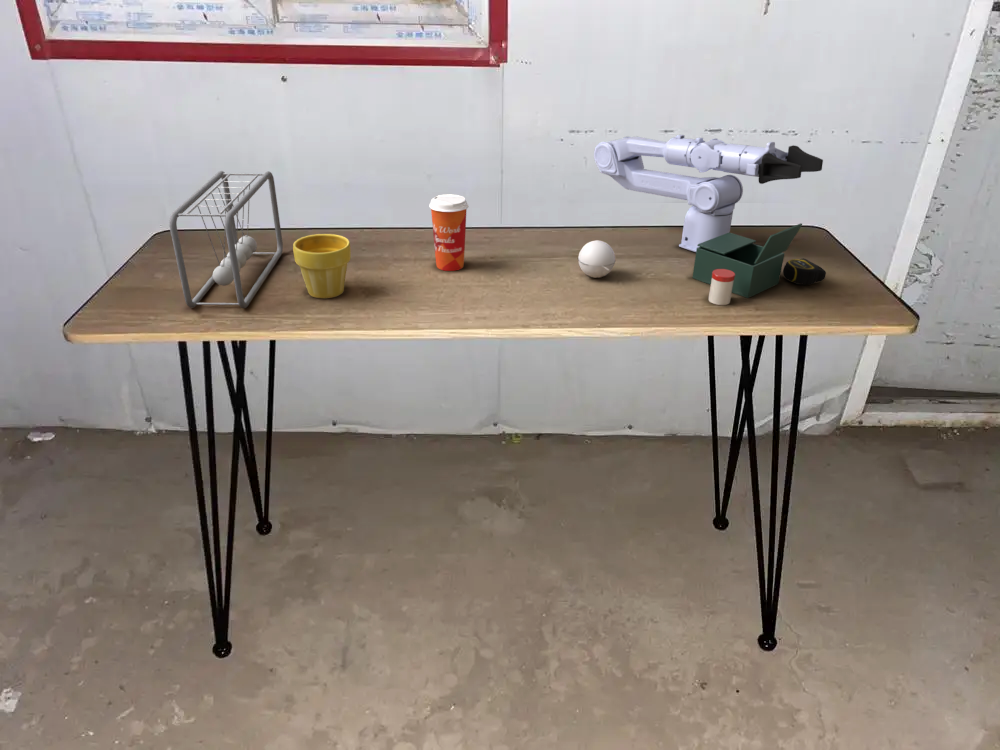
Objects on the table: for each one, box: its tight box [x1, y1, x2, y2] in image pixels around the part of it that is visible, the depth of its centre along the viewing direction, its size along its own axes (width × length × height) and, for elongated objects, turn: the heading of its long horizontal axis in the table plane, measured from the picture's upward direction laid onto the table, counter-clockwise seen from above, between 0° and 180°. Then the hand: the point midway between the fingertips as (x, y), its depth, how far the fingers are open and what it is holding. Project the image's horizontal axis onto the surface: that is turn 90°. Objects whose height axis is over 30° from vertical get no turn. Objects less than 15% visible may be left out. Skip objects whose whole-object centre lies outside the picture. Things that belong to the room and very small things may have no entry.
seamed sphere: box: [577, 239, 616, 279], centre depth 152 cm, size 10×7×7 cm
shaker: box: [708, 269, 735, 306], centre depth 144 cm, size 4×4×6 cm
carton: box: [691, 231, 785, 299], centre depth 152 cm, size 13×11×7 cm
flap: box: [754, 223, 803, 264], centre depth 144 cm, size 6×11×1 cm
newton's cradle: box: [168, 170, 284, 309], centre depth 147 cm, size 30×10×18 cm, turn 0°
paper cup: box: [429, 193, 470, 272], centre depth 155 cm, size 8×8×14 cm
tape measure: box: [782, 258, 827, 286], centre depth 153 cm, size 7×7×4 cm
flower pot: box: [292, 233, 352, 299], centre depth 145 cm, size 10×10×10 cm
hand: (811, 168), depth 145 cm, fingers open, 7 cm apart
